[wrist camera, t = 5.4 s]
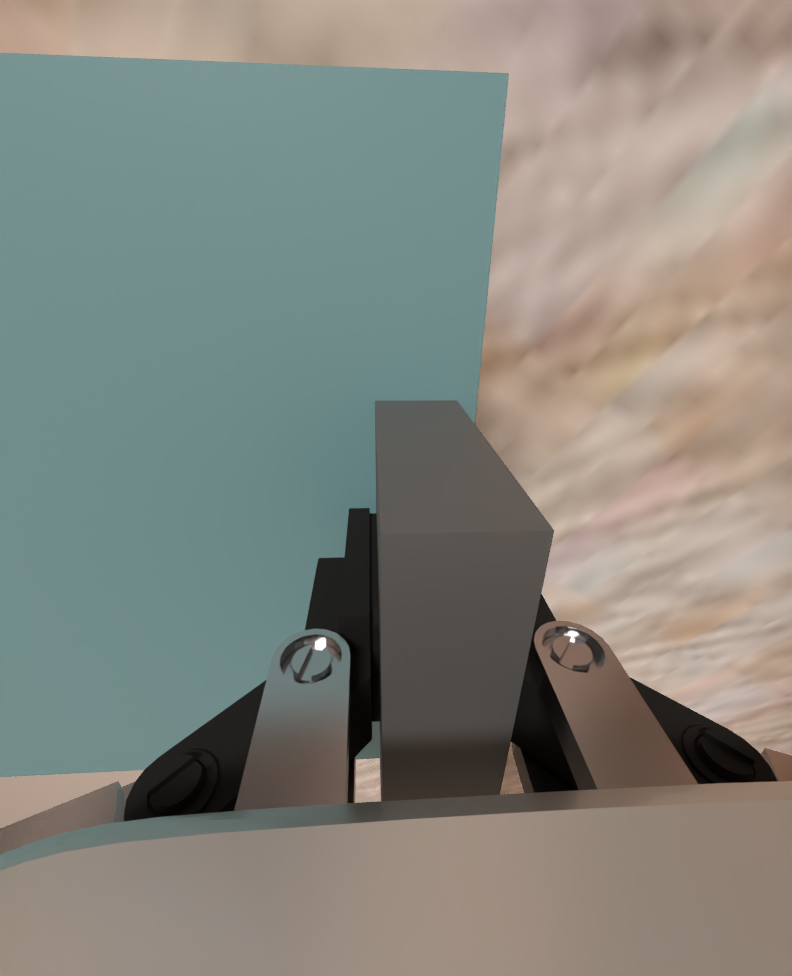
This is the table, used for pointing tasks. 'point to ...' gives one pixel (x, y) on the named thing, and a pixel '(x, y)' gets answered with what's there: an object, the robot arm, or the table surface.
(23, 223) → the lid
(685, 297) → the table surface
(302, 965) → the robot arm
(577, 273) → the table surface
